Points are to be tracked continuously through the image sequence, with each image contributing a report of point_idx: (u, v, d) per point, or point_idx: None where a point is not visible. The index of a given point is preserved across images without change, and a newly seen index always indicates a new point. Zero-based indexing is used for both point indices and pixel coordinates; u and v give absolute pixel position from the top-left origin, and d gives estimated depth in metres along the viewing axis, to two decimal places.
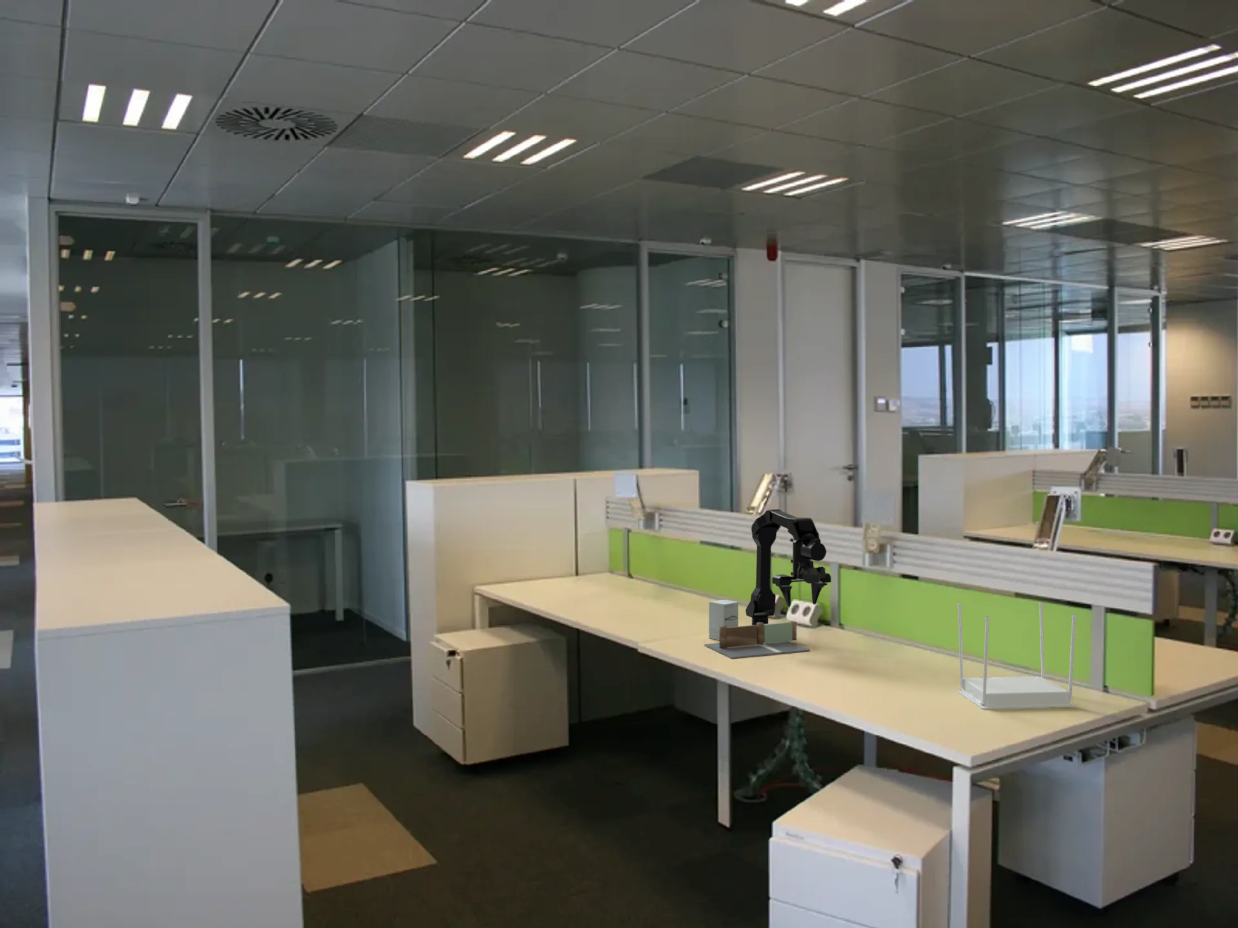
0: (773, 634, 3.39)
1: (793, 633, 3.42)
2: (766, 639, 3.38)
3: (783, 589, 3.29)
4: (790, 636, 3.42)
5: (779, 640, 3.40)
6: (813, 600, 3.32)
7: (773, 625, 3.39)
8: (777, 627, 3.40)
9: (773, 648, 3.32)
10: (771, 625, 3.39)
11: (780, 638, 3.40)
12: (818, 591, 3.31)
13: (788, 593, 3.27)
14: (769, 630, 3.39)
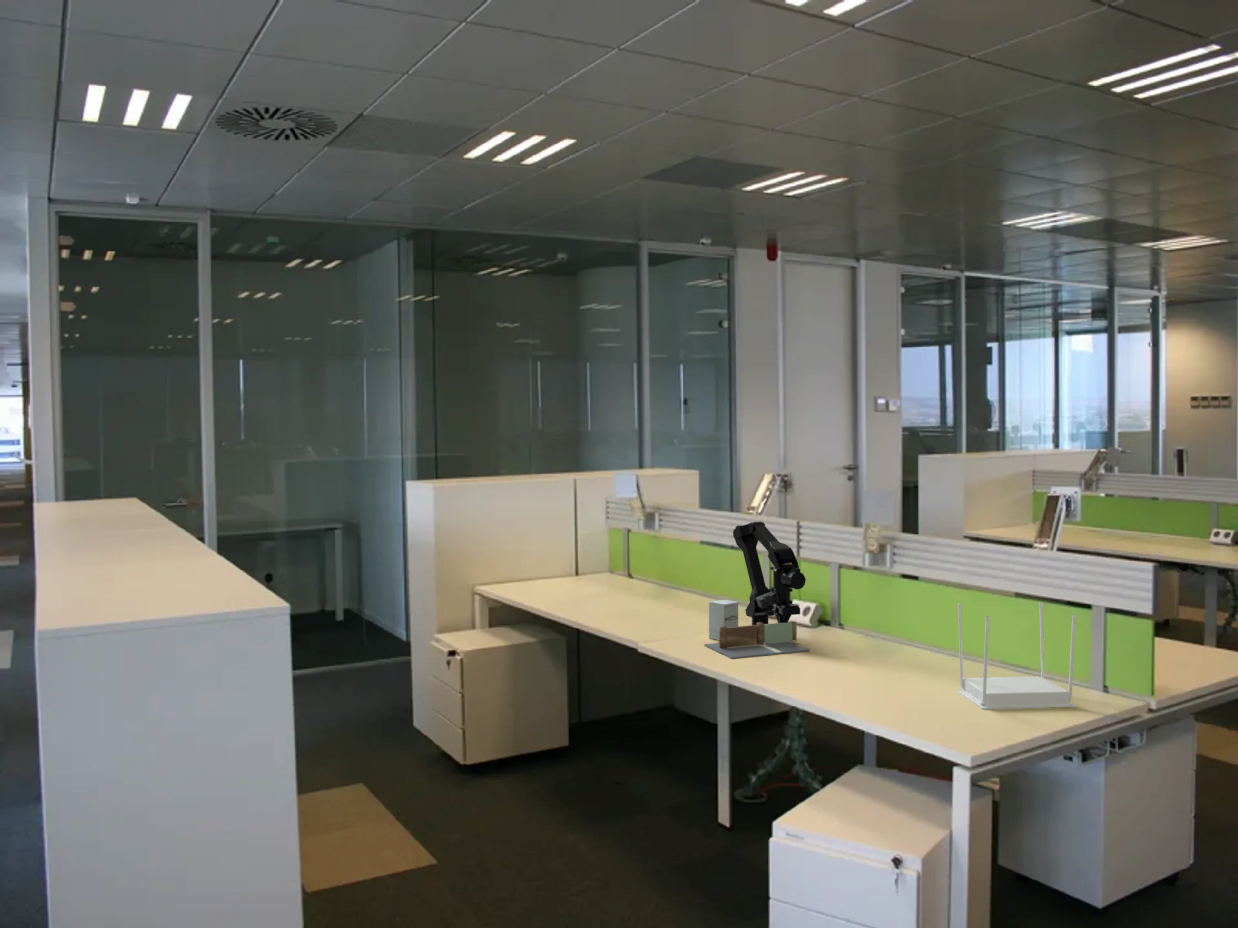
0: (773, 634, 3.39)
1: (793, 633, 3.42)
2: (766, 639, 3.38)
3: None
4: (790, 636, 3.42)
5: (779, 640, 3.40)
6: None
7: (773, 625, 3.39)
8: (777, 627, 3.40)
9: (773, 648, 3.32)
10: (771, 625, 3.39)
11: (780, 638, 3.40)
12: (778, 618, 3.43)
13: (777, 618, 3.44)
14: (769, 630, 3.39)
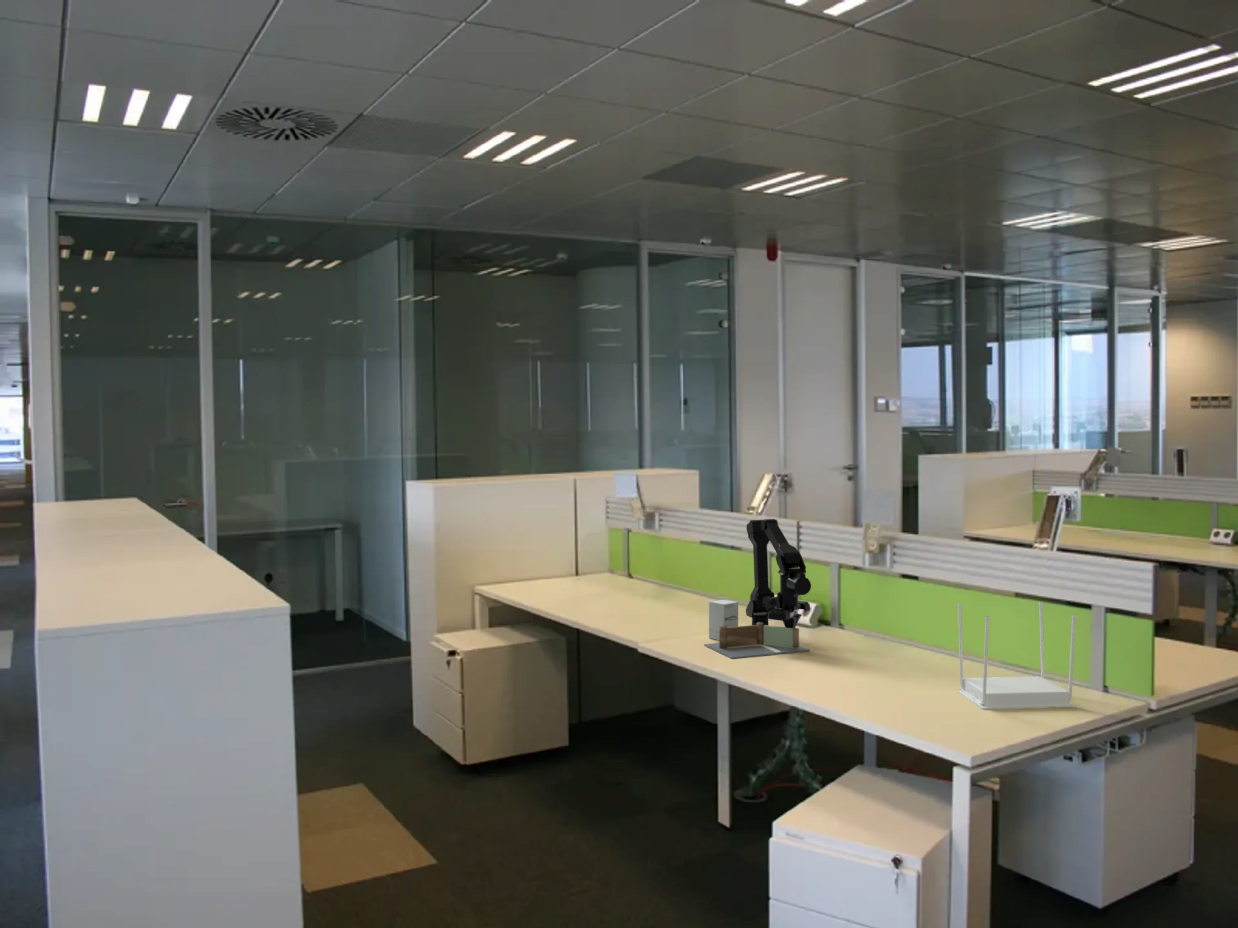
0: (772, 637, 3.35)
1: (793, 639, 3.31)
2: (765, 640, 3.37)
3: None
4: (790, 642, 3.32)
5: (778, 644, 3.34)
6: None
7: (772, 628, 3.35)
8: (776, 630, 3.34)
9: (773, 648, 3.32)
10: (770, 627, 3.36)
11: (780, 642, 3.34)
12: None
13: None
14: (768, 632, 3.36)
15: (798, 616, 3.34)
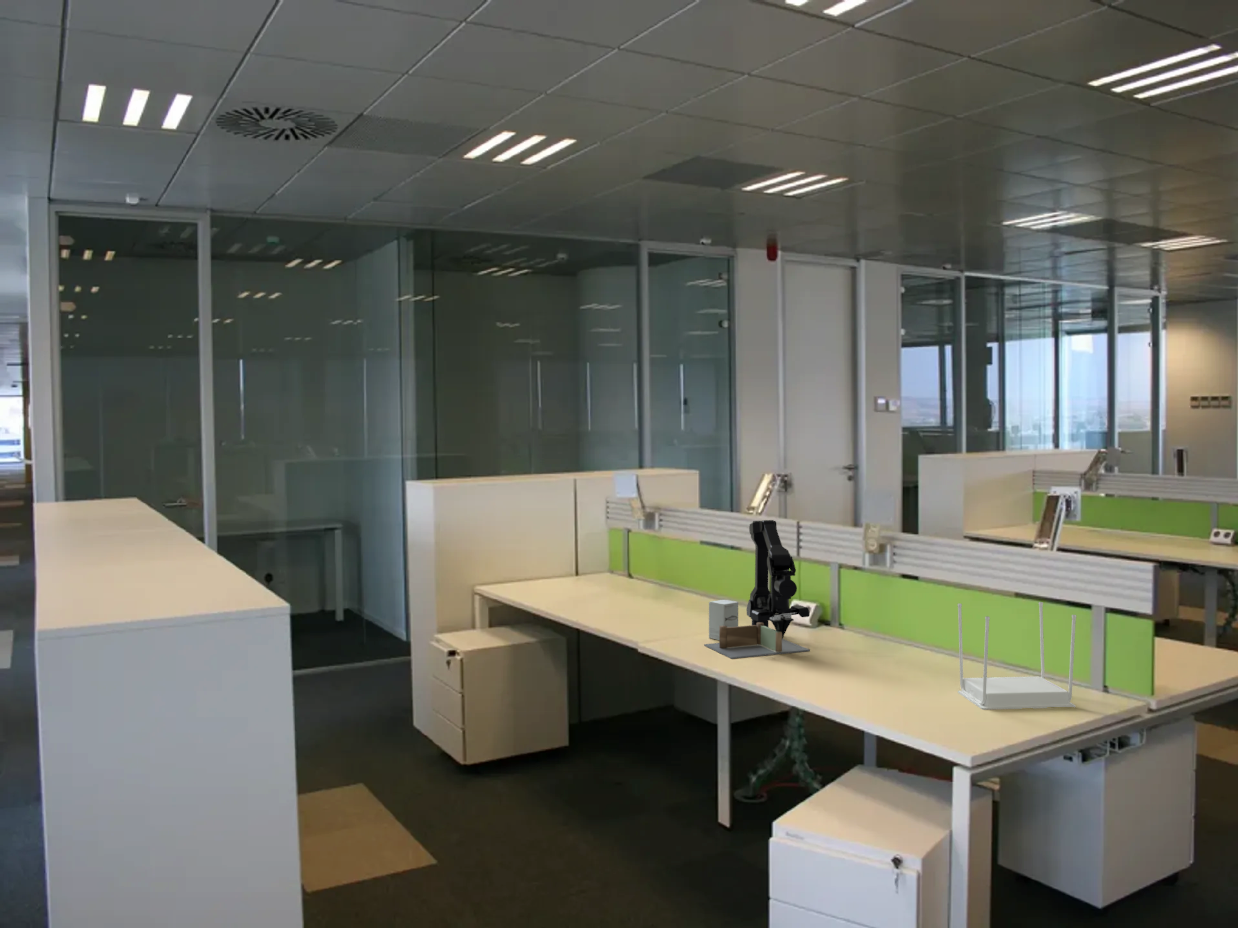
0: (765, 638, 3.34)
1: (775, 643, 3.27)
2: (761, 641, 3.36)
3: None
4: (774, 645, 3.28)
5: (768, 646, 3.32)
6: None
7: (765, 629, 3.34)
8: (767, 632, 3.32)
9: None
10: (764, 628, 3.34)
11: (769, 644, 3.31)
12: None
13: None
14: (763, 632, 3.35)
15: (786, 620, 3.27)
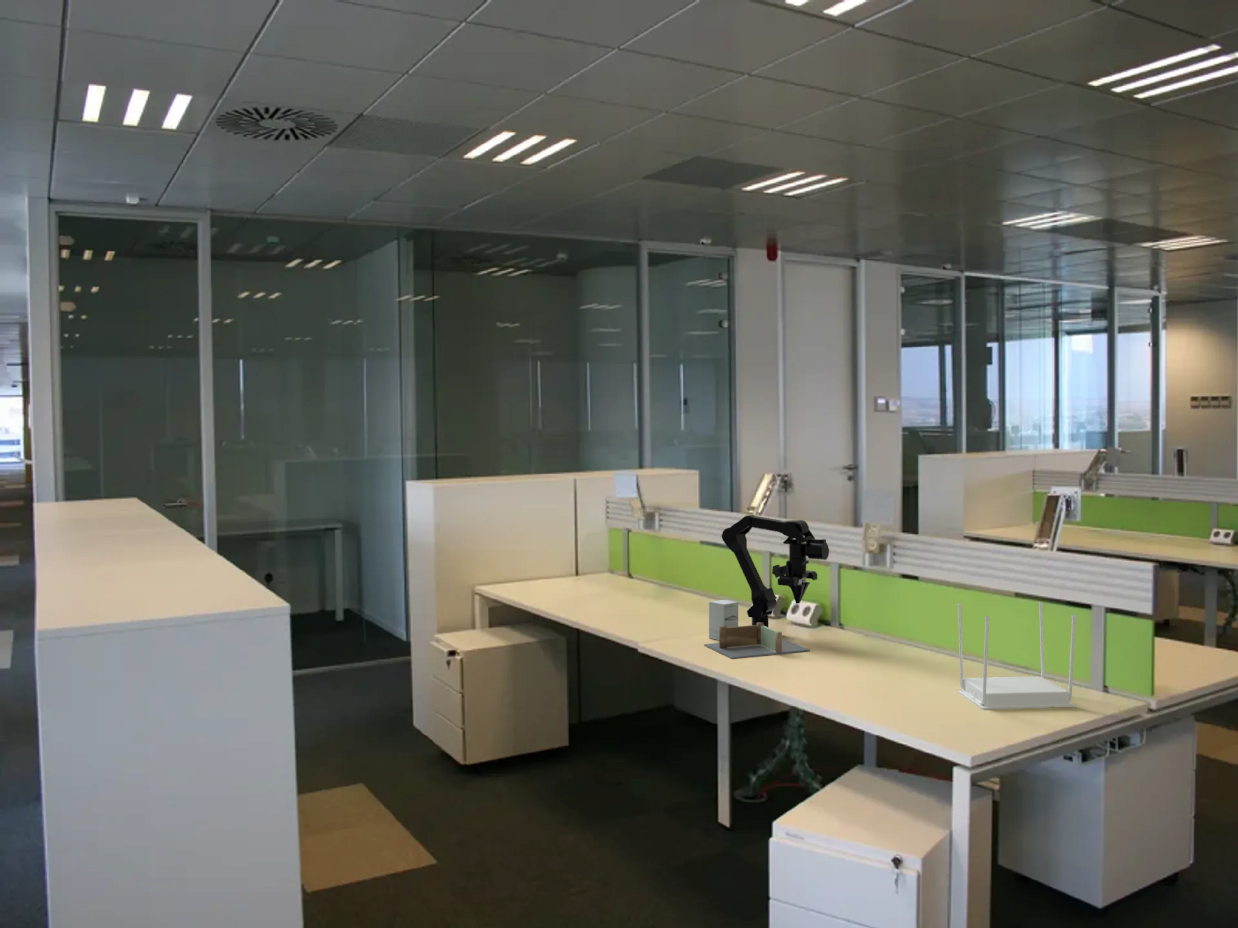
0: (765, 638, 3.34)
1: (775, 643, 3.27)
2: (761, 641, 3.36)
3: None
4: (774, 645, 3.28)
5: (768, 646, 3.32)
6: None
7: (765, 629, 3.34)
8: (767, 632, 3.32)
9: None
10: (764, 628, 3.34)
11: (769, 644, 3.31)
12: None
13: None
14: (763, 632, 3.35)
15: (806, 583, 3.47)
